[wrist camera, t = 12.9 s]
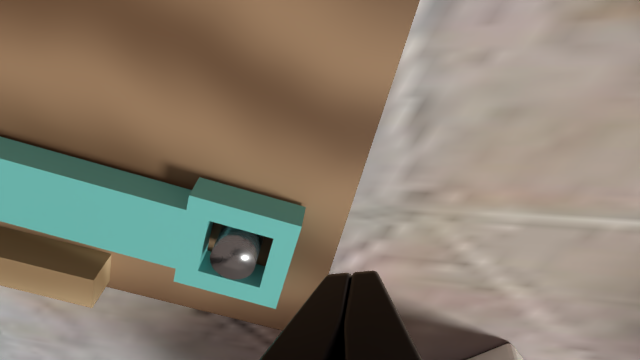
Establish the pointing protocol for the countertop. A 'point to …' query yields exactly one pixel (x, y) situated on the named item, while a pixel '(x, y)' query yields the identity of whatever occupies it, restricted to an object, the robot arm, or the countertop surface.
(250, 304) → the board
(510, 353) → the soap bottle
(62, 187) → the link
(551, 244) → the countertop surface
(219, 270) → the pintle
